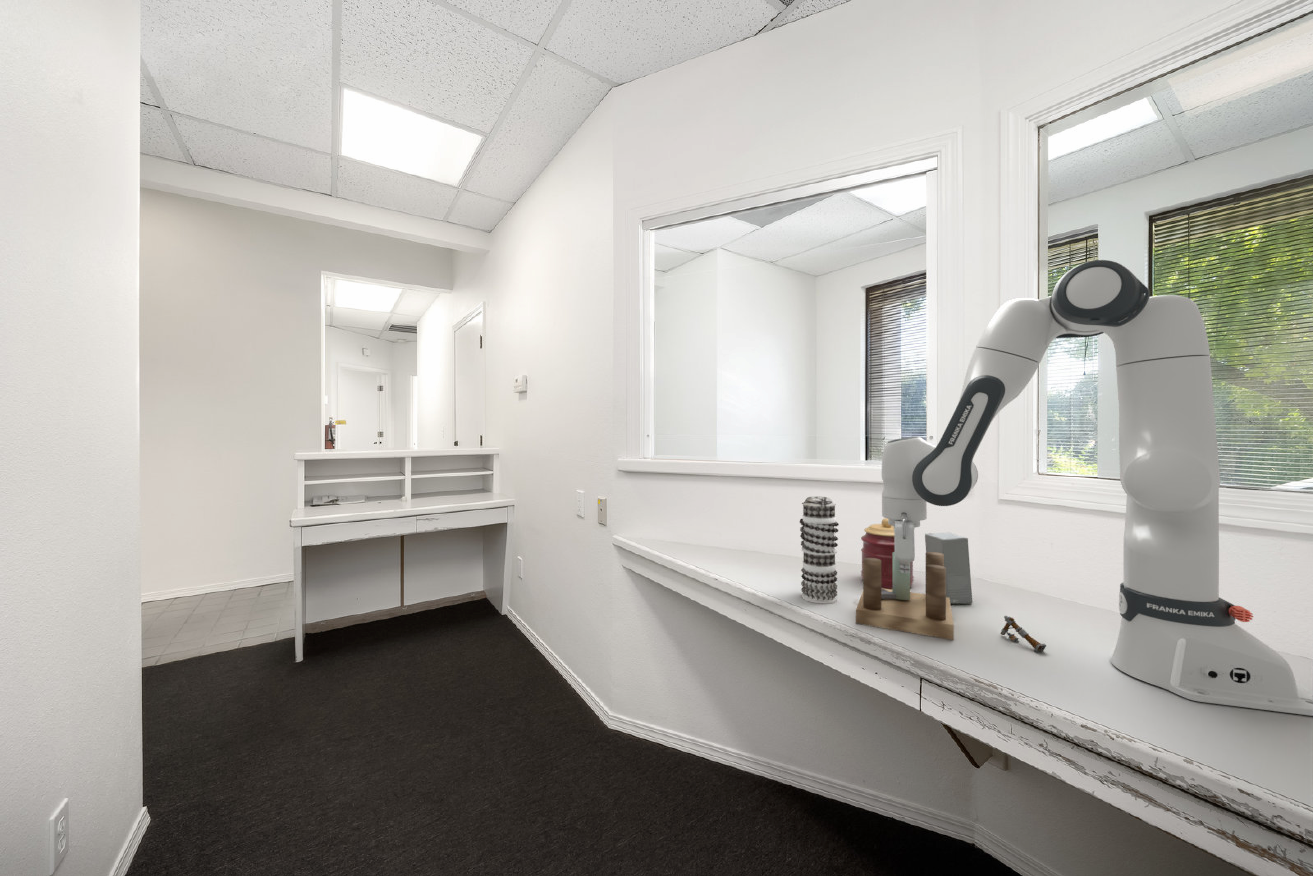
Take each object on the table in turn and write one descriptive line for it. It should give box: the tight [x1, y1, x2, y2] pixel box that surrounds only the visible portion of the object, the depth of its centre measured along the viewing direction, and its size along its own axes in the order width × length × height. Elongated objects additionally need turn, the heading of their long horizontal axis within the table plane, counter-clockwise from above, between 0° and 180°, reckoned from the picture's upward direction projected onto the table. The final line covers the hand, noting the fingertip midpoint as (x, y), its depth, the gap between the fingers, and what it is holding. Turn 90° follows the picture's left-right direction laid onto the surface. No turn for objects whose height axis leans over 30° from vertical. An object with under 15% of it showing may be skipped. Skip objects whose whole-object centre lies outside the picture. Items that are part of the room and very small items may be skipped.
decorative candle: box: [799, 496, 839, 605], centre depth 121 cm, size 9×9×25 cm
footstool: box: [855, 551, 955, 641], centre depth 108 cm, size 18×18×13 cm
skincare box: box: [924, 532, 973, 605], centre depth 119 cm, size 8×7×16 cm
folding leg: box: [881, 552, 911, 600], centre depth 111 cm, size 9×4×10 cm, turn 88°
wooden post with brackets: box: [1000, 615, 1047, 653], centre depth 94 cm, size 2×8×4 cm, turn 14°
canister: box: [860, 518, 915, 590], centre depth 132 cm, size 13×13×18 cm
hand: (904, 572), depth 108 cm, fingers closed
